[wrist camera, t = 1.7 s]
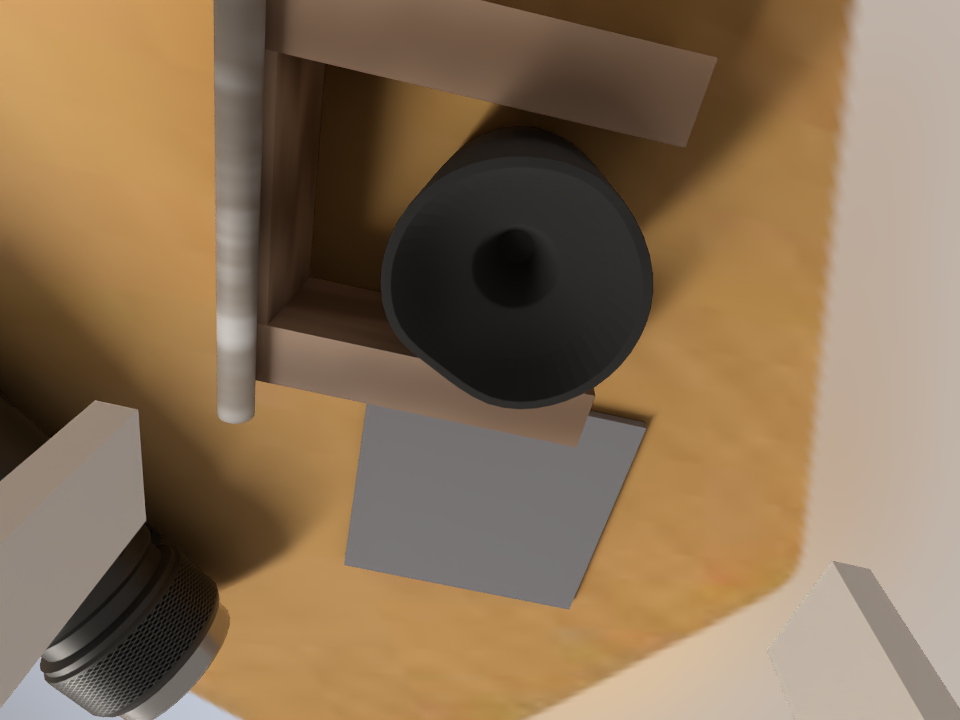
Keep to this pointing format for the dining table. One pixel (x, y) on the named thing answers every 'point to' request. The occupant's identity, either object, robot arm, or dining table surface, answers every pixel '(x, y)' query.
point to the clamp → (294, 162)
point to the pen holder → (518, 272)
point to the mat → (485, 503)
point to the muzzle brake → (128, 616)
